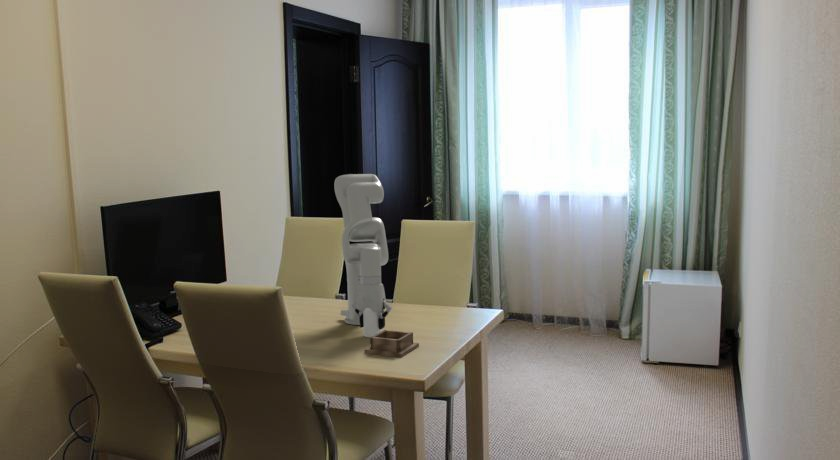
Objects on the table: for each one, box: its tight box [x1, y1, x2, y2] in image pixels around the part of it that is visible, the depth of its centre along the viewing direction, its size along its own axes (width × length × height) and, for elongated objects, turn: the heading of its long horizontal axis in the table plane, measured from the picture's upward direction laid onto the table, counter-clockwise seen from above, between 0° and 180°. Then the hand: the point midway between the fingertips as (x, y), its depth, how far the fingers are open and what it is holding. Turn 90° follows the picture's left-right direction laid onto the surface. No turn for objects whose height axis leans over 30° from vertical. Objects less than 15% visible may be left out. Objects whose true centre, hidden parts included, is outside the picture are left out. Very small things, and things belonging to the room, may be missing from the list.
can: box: [363, 308, 382, 339], centre depth 273 cm, size 6×6×12 cm
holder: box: [364, 329, 420, 358], centre depth 255 cm, size 14×14×5 cm
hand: (372, 327), depth 274 cm, fingers open, 7 cm apart
